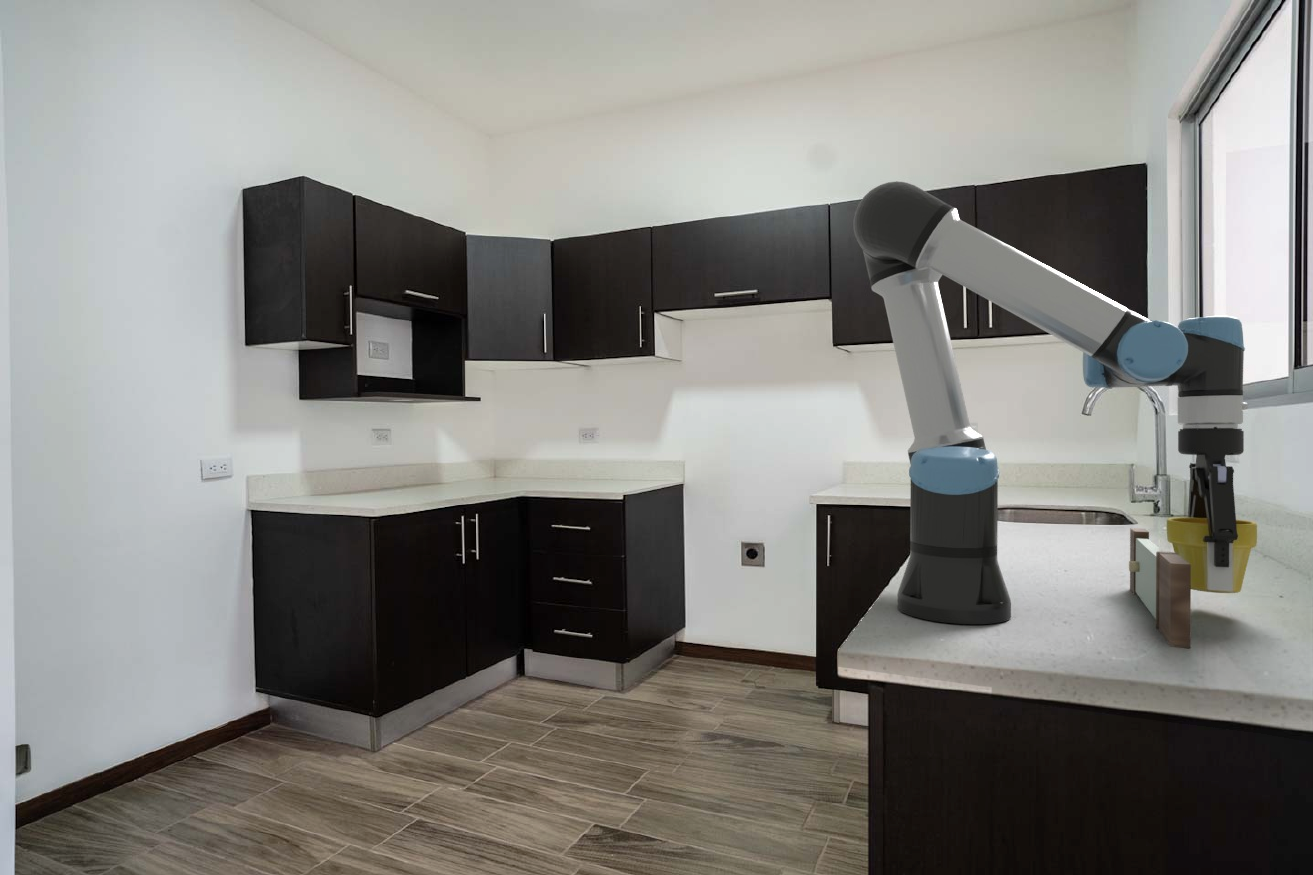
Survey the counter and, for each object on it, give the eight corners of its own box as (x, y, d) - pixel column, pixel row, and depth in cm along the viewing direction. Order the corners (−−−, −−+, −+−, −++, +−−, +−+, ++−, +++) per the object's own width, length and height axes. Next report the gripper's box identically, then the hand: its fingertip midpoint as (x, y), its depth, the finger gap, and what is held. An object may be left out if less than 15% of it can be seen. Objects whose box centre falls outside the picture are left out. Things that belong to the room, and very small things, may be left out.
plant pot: (1168, 578, 115) (1168, 514, 115) (1254, 586, 109) (1254, 518, 109) (1165, 590, 106) (1165, 521, 106) (1259, 600, 100) (1259, 526, 100)
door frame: (1168, 645, 91) (1168, 563, 91) (1128, 588, 124) (1128, 528, 124) (1192, 648, 90) (1192, 564, 90) (1145, 590, 123) (1146, 528, 123)
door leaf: (1147, 621, 101) (1147, 557, 101) (1126, 591, 120) (1126, 537, 120) (1172, 623, 100) (1172, 559, 100) (1147, 592, 119) (1147, 538, 119)
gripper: (1267, 426, 95) (1267, 601, 96) (1222, 426, 116) (1223, 571, 116) (1195, 426, 99) (1195, 596, 99) (1164, 427, 119) (1164, 567, 119)
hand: (1210, 582), depth 108 cm, fingers closed on plant pot, 10 cm apart
